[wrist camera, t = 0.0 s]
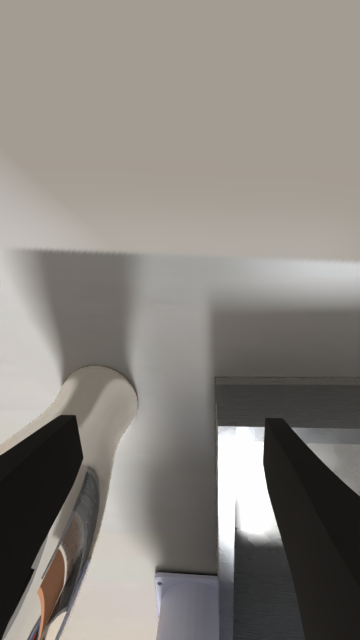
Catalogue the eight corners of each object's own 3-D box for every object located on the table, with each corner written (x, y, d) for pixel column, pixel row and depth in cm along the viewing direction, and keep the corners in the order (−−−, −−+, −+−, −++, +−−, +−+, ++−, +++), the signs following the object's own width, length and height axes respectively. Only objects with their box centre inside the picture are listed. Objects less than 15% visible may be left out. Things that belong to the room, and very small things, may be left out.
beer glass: (104, 342, 21) (-110, 582, 7) (161, 410, 22) (84, 730, 8) (39, 388, 23) (-239, 657, 8) (96, 449, 24) (-61, 768, 10)
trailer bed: (397, 577, 26) (446, 667, 20) (216, 566, 27) (219, 646, 22) (450, 377, 20) (540, 432, 14) (214, 377, 21) (217, 426, 16)
